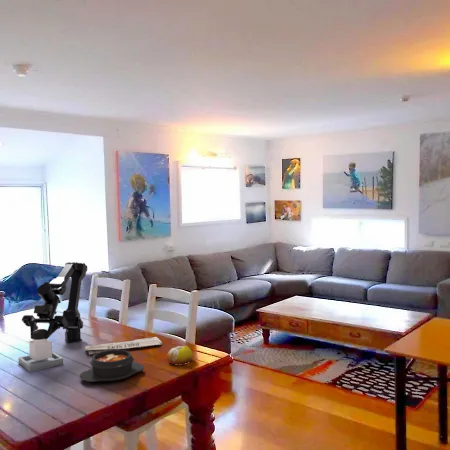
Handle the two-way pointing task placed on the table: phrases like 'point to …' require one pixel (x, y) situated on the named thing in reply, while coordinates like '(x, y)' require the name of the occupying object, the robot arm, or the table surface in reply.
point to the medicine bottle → (40, 346)
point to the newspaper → (123, 345)
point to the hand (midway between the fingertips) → (38, 338)
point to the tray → (40, 362)
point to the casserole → (111, 366)
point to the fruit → (179, 355)
